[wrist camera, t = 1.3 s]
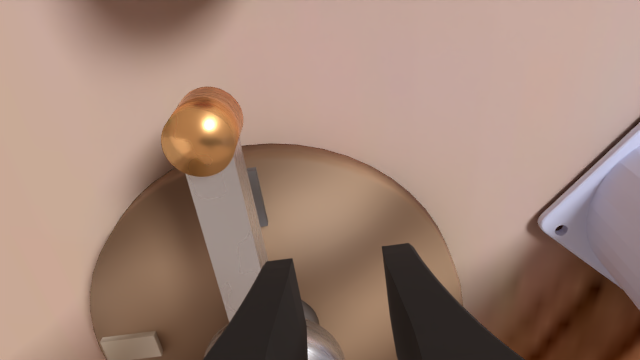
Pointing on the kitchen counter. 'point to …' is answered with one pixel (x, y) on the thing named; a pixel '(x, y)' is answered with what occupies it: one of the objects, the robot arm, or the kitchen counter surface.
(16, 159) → the kitchen counter surface
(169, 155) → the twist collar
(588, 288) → the kitchen counter surface
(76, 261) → the kitchen counter surface
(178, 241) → the base
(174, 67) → the kitchen counter surface
